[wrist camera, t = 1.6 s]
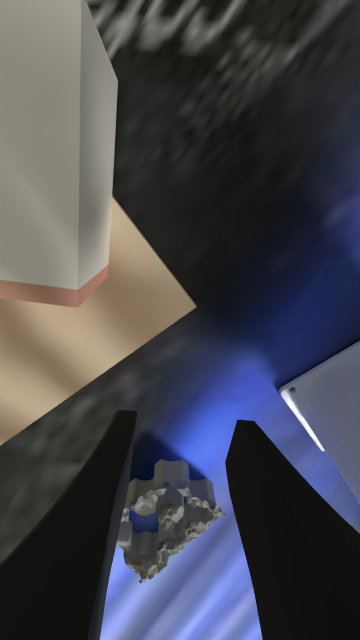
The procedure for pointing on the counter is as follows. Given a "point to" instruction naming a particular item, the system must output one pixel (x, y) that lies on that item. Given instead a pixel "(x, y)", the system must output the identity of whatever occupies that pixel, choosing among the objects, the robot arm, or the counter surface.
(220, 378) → the counter surface
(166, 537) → the egg carton
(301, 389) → the robot arm
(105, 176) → the cream block
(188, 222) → the counter surface
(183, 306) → the wooden board
